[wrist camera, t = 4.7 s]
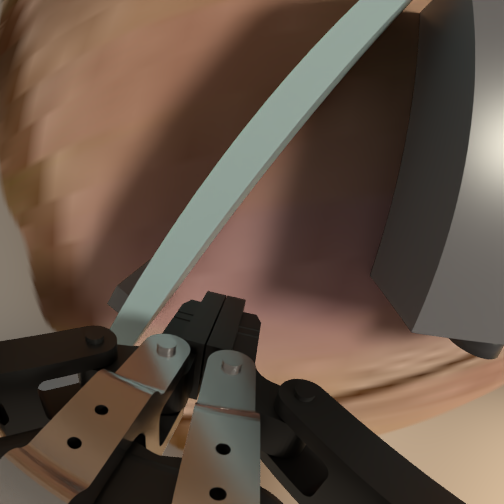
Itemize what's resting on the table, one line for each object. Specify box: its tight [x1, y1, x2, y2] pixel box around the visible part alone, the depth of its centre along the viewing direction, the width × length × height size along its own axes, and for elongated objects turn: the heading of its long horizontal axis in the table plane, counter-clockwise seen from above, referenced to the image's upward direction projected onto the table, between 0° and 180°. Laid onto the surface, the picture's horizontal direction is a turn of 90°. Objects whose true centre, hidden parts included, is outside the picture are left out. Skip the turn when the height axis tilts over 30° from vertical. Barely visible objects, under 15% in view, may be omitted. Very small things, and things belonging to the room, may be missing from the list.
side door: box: [107, 0, 412, 346], centre depth 10 cm, size 21×2×6 cm, turn 143°
